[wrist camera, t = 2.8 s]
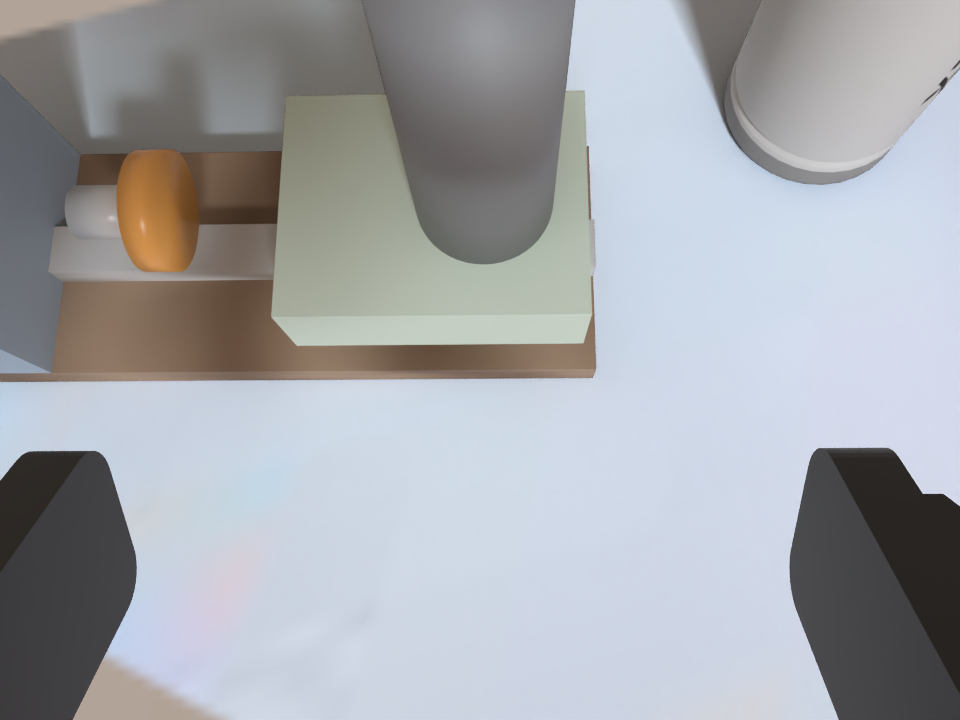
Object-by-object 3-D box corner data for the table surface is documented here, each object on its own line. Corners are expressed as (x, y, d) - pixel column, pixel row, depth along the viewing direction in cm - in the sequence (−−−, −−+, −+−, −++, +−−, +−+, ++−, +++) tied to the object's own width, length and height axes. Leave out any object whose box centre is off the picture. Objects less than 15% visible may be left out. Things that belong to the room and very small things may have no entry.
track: (585, 162, 31) (590, 131, 29) (592, 377, 29) (599, 361, 27) (-10, 171, 32) (-48, 142, 30) (-44, 382, 30) (-87, 366, 28)
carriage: (577, 140, 29) (628, -210, 16) (583, 343, 27) (646, 129, 14) (308, 145, 29) (152, -195, 16) (296, 345, 27) (111, 137, 15)
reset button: (202, 183, 28) (158, 126, 24) (193, 288, 27) (145, 244, 24) (111, 184, 28) (55, 127, 25) (99, 289, 27) (38, 245, 24)
